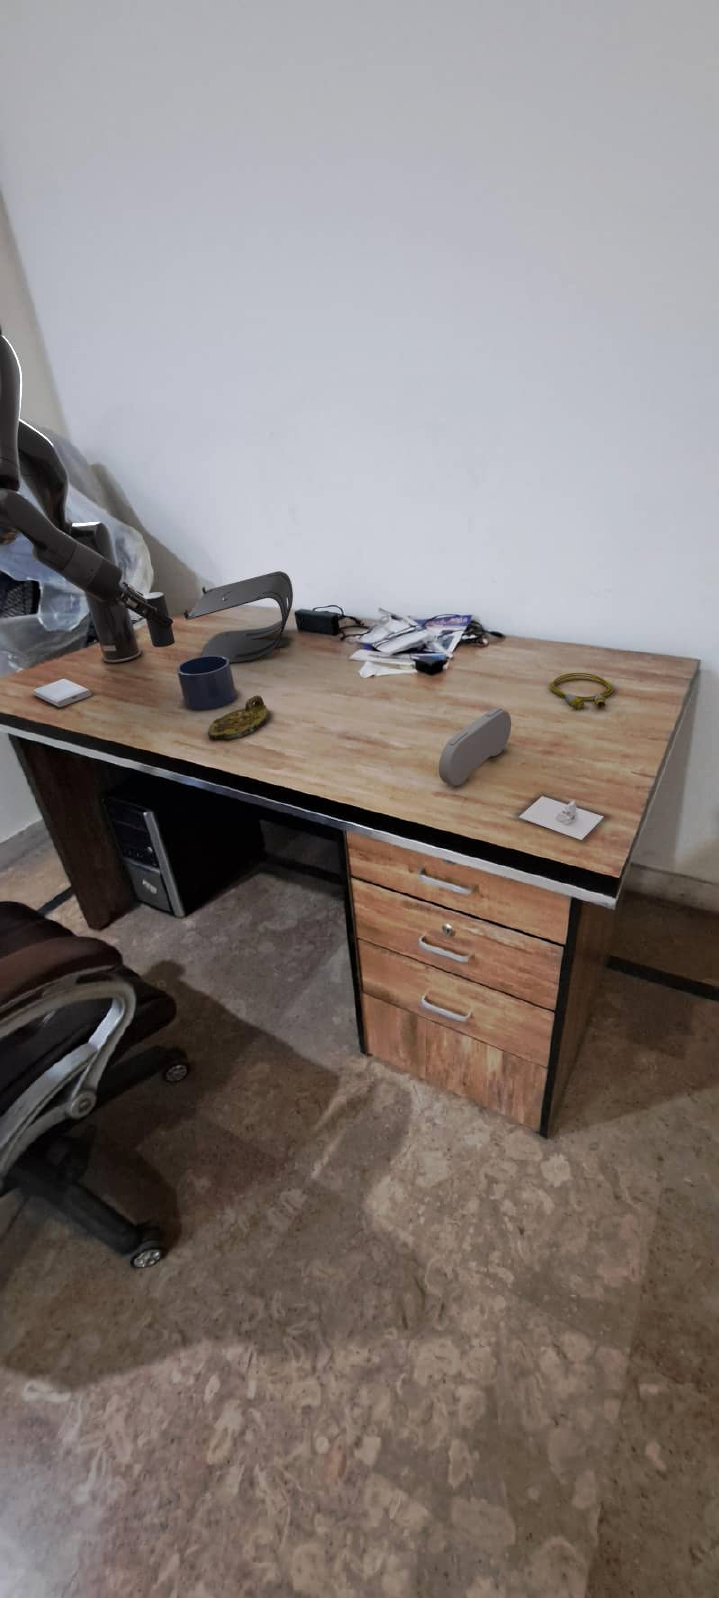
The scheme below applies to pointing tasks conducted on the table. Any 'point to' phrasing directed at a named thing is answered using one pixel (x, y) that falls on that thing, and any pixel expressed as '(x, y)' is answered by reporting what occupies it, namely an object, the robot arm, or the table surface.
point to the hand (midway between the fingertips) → (168, 621)
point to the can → (206, 682)
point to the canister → (157, 632)
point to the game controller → (474, 746)
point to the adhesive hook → (561, 817)
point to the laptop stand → (266, 586)
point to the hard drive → (62, 692)
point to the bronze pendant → (240, 720)
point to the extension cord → (576, 700)
